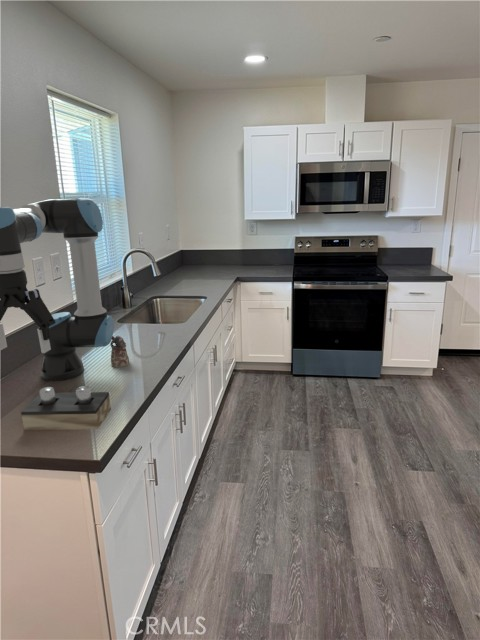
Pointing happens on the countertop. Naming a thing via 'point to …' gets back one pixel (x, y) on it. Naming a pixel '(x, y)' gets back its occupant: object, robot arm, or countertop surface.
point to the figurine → (119, 352)
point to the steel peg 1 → (47, 396)
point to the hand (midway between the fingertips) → (24, 350)
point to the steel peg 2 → (83, 395)
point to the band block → (66, 412)
